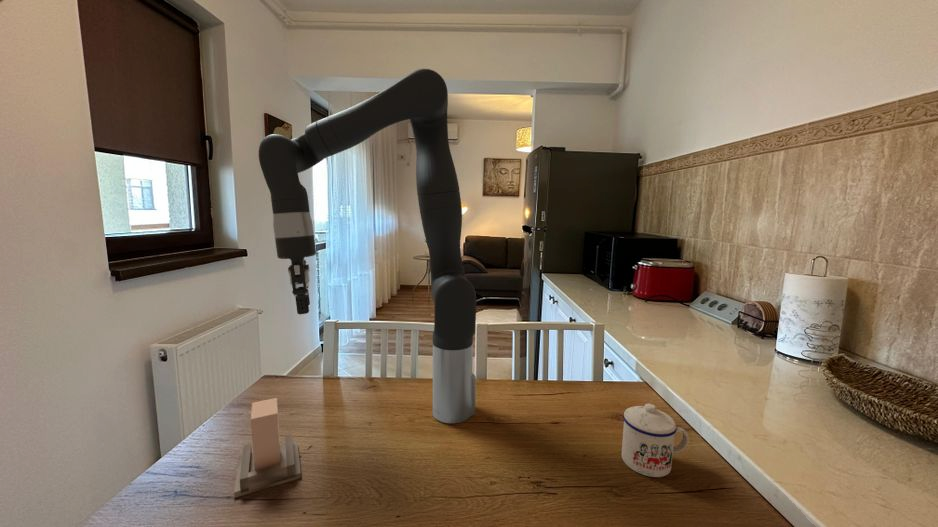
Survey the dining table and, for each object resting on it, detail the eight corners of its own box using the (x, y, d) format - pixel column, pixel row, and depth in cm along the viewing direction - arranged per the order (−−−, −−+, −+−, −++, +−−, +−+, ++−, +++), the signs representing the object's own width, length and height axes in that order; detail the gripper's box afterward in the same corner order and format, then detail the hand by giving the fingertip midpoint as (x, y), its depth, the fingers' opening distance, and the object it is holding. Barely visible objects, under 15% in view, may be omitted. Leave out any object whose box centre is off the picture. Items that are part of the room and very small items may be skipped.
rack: (297, 446, 74) (296, 432, 73) (301, 477, 65) (300, 462, 65) (239, 461, 69) (238, 446, 69) (234, 497, 60) (233, 481, 60)
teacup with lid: (630, 478, 66) (635, 418, 64) (613, 446, 75) (617, 392, 73) (698, 481, 65) (705, 420, 64) (673, 448, 74) (678, 395, 73)
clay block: (280, 451, 70) (276, 397, 69) (281, 470, 65) (277, 413, 64) (256, 457, 69) (252, 402, 67) (255, 478, 63) (250, 419, 62)
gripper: (313, 233, 72) (323, 313, 74) (313, 233, 85) (322, 301, 87) (270, 237, 69) (282, 320, 71) (278, 235, 83) (287, 305, 85)
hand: (304, 309), depth 79 cm, fingers open, 8 cm apart
